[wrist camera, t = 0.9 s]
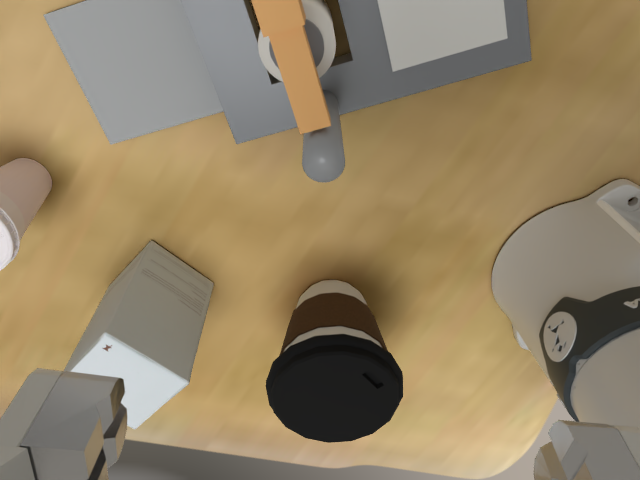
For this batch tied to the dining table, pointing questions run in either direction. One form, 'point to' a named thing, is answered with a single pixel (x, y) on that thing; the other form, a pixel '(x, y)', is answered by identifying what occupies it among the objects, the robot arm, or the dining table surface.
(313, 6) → the plug
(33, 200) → the smoothie
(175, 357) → the supplement box
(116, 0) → the pad
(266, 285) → the dining table surface
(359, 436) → the coffee cup
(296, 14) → the orange wooden bar
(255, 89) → the stand
